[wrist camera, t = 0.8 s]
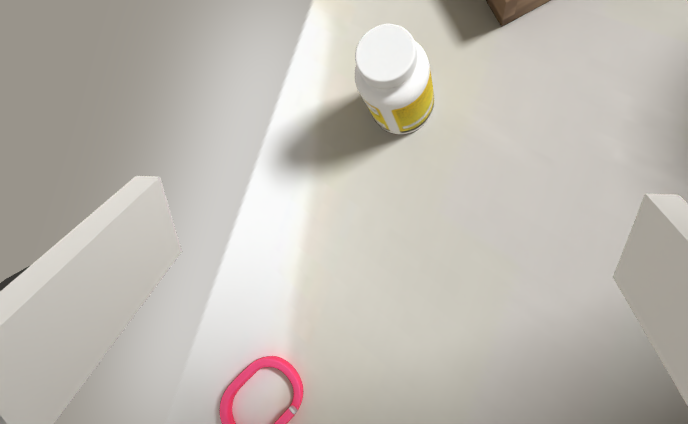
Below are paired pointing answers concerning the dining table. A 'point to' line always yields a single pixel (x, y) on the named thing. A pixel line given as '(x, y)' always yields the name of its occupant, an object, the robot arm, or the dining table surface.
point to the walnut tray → (512, 8)
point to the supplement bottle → (394, 78)
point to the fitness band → (246, 374)
